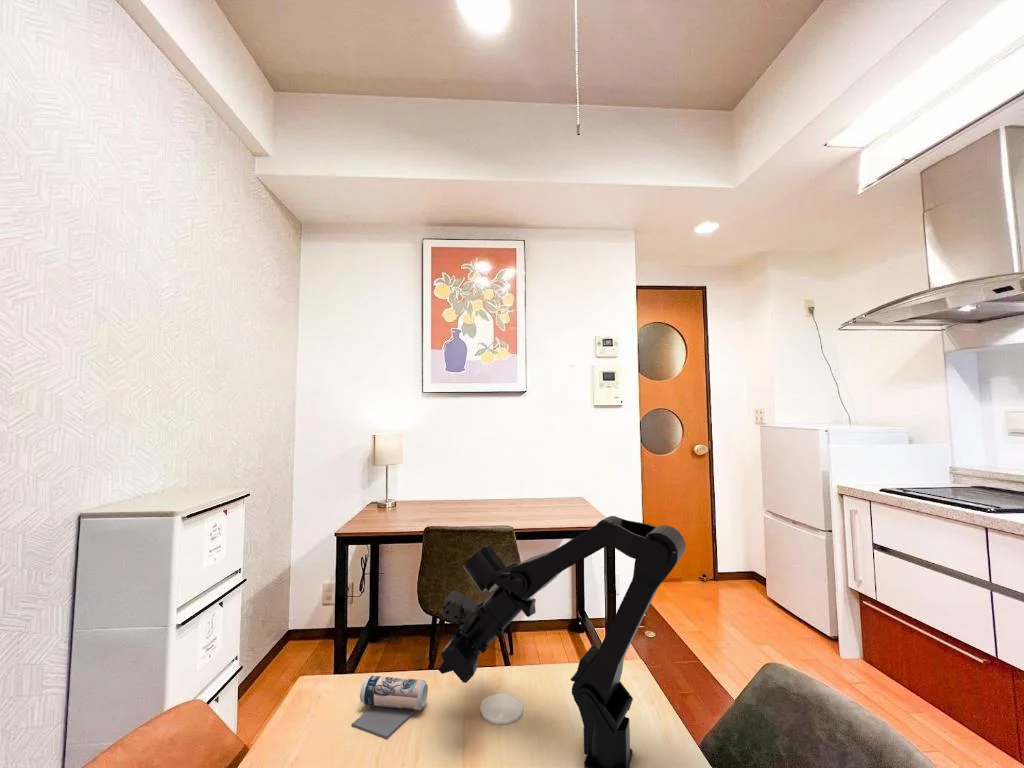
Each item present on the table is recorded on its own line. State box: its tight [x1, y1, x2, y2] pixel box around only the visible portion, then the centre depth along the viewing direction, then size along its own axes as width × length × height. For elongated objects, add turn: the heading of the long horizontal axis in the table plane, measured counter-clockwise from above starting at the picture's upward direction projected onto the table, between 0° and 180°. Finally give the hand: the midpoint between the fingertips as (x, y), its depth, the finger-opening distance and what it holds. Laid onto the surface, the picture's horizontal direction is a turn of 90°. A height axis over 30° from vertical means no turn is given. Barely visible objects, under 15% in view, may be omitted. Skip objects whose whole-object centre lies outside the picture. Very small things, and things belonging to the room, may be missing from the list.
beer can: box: [359, 675, 429, 711], centre depth 85 cm, size 5×5×12 cm
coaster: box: [480, 692, 524, 726], centre depth 84 cm, size 8×8×1 cm
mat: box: [351, 706, 418, 740], centre depth 82 cm, size 8×10×1 cm
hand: (440, 670), depth 84 cm, fingers closed
